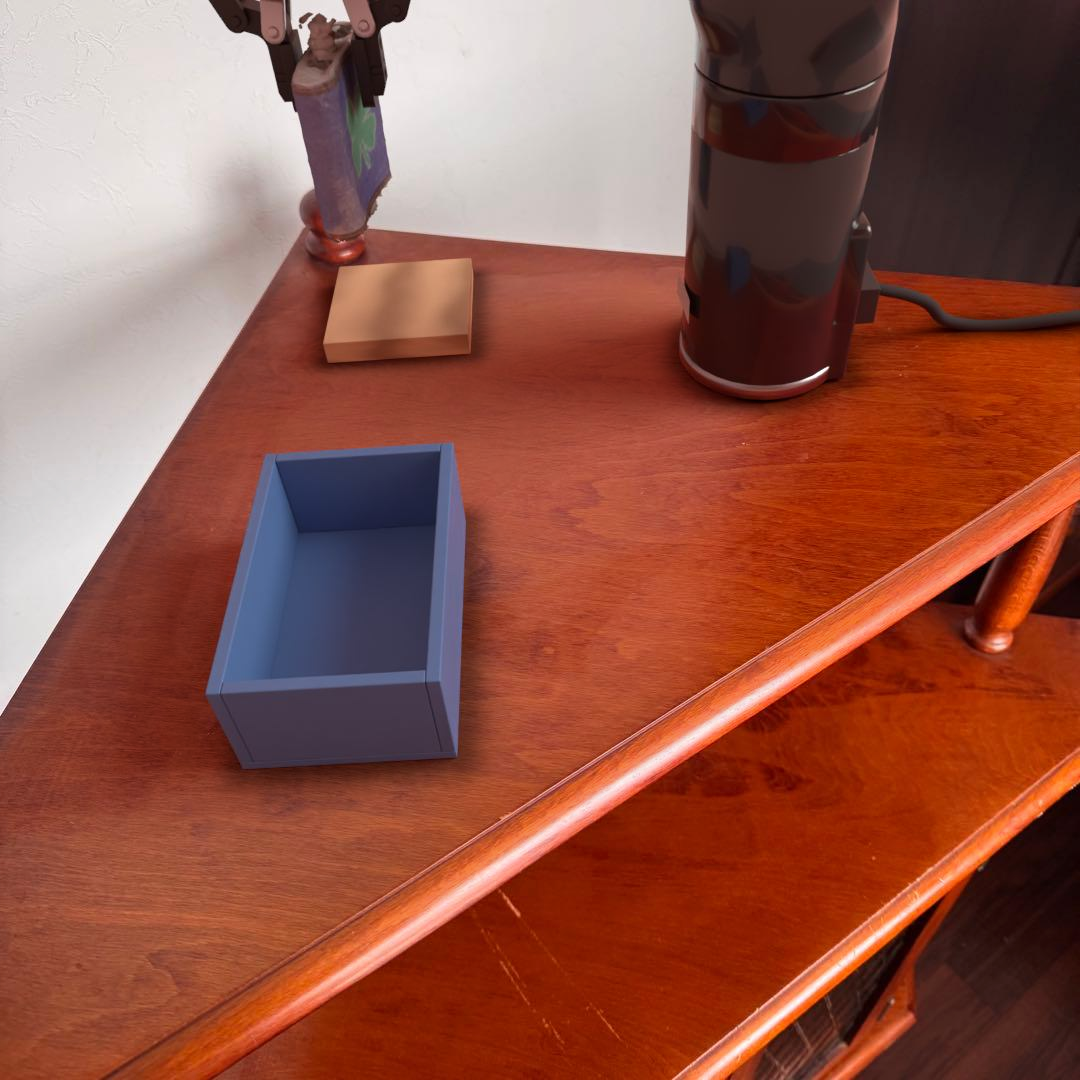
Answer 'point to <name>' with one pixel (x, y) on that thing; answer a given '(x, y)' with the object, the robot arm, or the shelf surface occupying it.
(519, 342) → the shelf surface
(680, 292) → the robot arm
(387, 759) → the bin
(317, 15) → the flask
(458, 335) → the board
